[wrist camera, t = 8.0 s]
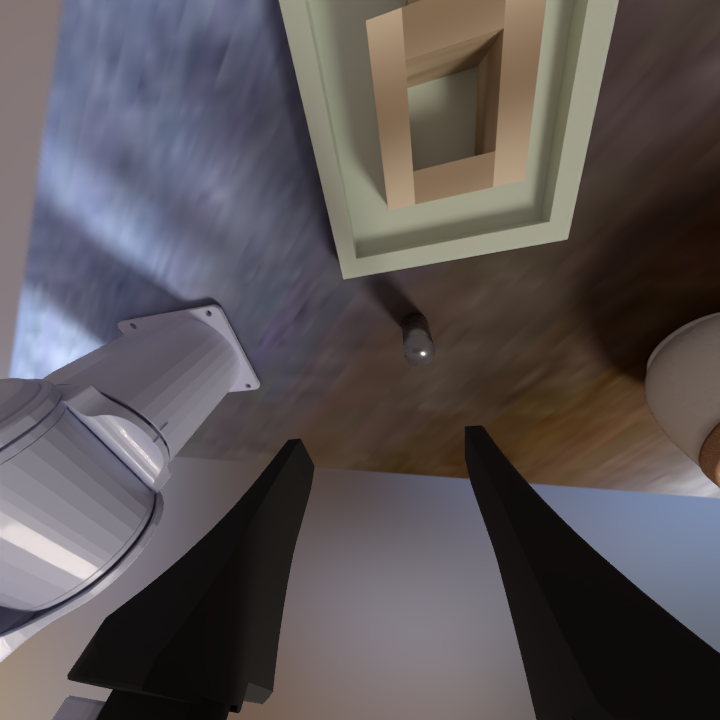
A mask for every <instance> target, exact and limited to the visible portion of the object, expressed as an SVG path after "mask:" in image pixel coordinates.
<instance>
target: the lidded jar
mask: <svg viewBox="0 0 720 720" xmlns="http://www.w3.org/2000/svg"><path fill="white" fill-rule="evenodd" d="M646 370H647V374H646V378H645V385H644V391H645V398H646V402H647V405H648V407H649V410H650V412H651V414H652V415H653V417H654V419H655V420H656V422H657V423H658V424H659V426H660V427H661V429H662V430H663V431H664V433H665V434H666V435H667V436H668V437H669V438H670V439H671V441H672V442H673V443H674V444H675V445H676V446H677V447H678V448H679V449H680V450H681V451H682V452H684V453H685V454H686V455H687V456H688V457H689V458H690V459H691V460H692V461H693V462H695V463H696V464H697V465H698V466H699V467H700V468H701V469H702V471H703V473H704V474H705V475H706V476H707V477H708V478H709V479H710V480H711V481H712V482H713V483H715V484H716V485H717V486H718V487H719V488H720V312H718V313H713V314H710V315H706V316H703V317H701V318H698V319H696V320H693V321H691V322H689V323H687V324H685V325H683V326H682V327H680V328H678V329H677V330H675V331H674V332H672V333H671V334H669V335H668V336H667V337H666V338H665V339H663V340H662V341H661V342H660V343H659V344H658V345H657V346H656V347H655V349H654V350H653V352H652V353H651V355H650V357H649V359H648V362H647V367H646Z"/></svg>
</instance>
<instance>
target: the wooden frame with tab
mask: <svg viewBox="0 0 720 720" xmlns="http://www.w3.org/2000/svg"><path fill="white" fill-rule="evenodd" d="M545 8H546V0H406V6H404V7H401V8H399V9H396V10H393V11H391V12H388V13H385V14H383V15H380V16H377V17H375V18H372V19H369V20H366V28H367V36H368V44H369V53H370V61H371V70H372V78H373V86H374V95H375V103H376V112H377V120H378V128H379V137H380V145H381V154H382V162H383V170H384V179H385V187H386V196H387V204H388V210H393V209H397V208H402V207H406V206H411V205H415V204H420V203H424V202H429V201H433V200H438V199H442V198H447V197H451V196H456V195H460V194H465V193H469V192H474V191H478V190H483V189H487V188H492V187H497V186H501V185H506V184H510V183H515V182H519V181H524V180H525V173H526V165H527V156H528V148H529V140H530V131H531V123H532V115H533V107H534V98H535V90H536V82H537V74H538V65H539V57H540V49H541V41H542V32H543V24H544V16H545ZM474 67H478V74H477V103H476V133H475V156H474V157H470V158H465V159H461V160H457V161H453V162H449V163H445V164H441V165H437V166H433V167H429V168H425V169H421V170H417V171H413V164H412V150H411V136H410V121H409V107H408V92H407V88H410V87H413V86H416V85H420V84H423V83H426V82H429V81H433V80H436V79H439V78H442V77H445V76H449V75H452V74H455V73H458V72H462V71H465V70H468V69H471V68H474Z"/></svg>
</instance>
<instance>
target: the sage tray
mask: <svg viewBox="0 0 720 720" xmlns="http://www.w3.org/2000/svg"><path fill="white" fill-rule="evenodd" d="M618 2H619V0H546V8H545V16H544V24H543V32H542V41H541V49H540V57H539V65H538V74H537V82H536V90H535V98H534V107H533V115H532V123H531V131H530V140H529V148H528V156H527V165H526V173H525V180H524V181H519V182H515V183H510V184H506V185H501V186H497V187H492V188H487V189H483V190H478V191H474V192H469V193H465V194H460V195H456V196H451V197H447V198H442V199H438V200H433V201H429V202H424V203H420V204H415V205H411V206H406V207H402V208H397V209H393V210H388V204H387V196H386V187H385V179H384V170H383V162H382V154H381V145H380V137H379V128H378V120H377V112H376V103H375V95H374V86H373V78H372V70H371V61H370V53H369V44H368V36H367V28H366V20H369V19H372V18H375V17H377V16H380V15H383V14H385V13H388V12H391V11H393V10H396V9H399V8H401V7H404V6H406V0H279V3H280V8H281V12H282V16H283V21H284V25H285V29H286V34H287V38H288V42H289V47H290V51H291V55H292V60H293V64H294V68H295V72H296V77H297V81H298V85H299V90H300V94H301V98H302V103H303V107H304V111H305V116H306V120H307V124H308V128H309V133H310V137H311V141H312V146H313V150H314V154H315V159H316V163H317V167H318V172H319V176H320V180H321V185H322V189H323V193H324V197H325V202H326V206H327V210H328V215H329V219H330V223H331V228H332V232H333V236H334V241H335V245H336V249H337V253H338V258H339V262H340V266H341V271H342V275H343V279H349V278H354V277H360V276H365V275H371V274H376V273H382V272H388V271H393V270H399V269H404V268H410V267H416V266H421V265H427V264H432V263H438V262H443V261H449V260H455V259H460V258H466V257H471V256H477V255H483V254H488V253H494V252H499V251H505V250H510V249H516V248H522V247H527V246H533V245H538V244H544V243H550V242H555V241H561V240H566V239H568V236H569V231H570V226H571V222H572V217H573V212H574V208H575V203H576V198H577V194H578V189H579V184H580V179H581V175H582V170H583V165H584V161H585V156H586V151H587V147H588V142H589V137H590V133H591V128H592V123H593V119H594V114H595V109H596V105H597V100H598V95H599V91H600V86H601V81H602V77H603V72H604V67H605V62H606V58H607V53H608V48H609V44H610V39H611V34H612V30H613V25H614V20H615V16H616V11H617V6H618ZM477 74H478V67H474V68H471V69H468V70H465V71H462V72H458V73H455V74H452V75H449V76H445V77H442V78H439V79H436V80H433V81H429V82H426V83H423V84H420V85H416V86H413V87H410V88H407V92H408V107H409V121H410V136H411V150H412V164H413V171H417V170H421V169H425V168H429V167H433V166H437V165H441V164H445V163H449V162H453V161H457V160H461V159H465V158H470V157H474V156H475V133H476V103H477Z"/></svg>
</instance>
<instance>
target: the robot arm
mask: <svg viewBox="0 0 720 720" xmlns="http://www.w3.org/2000/svg"><path fill="white" fill-rule="evenodd" d="M208 311H210V312H211V314H212V315H211V314H210V313H209V312H208ZM118 328H119V329H120V330H121V332H122V333H123V334H124V335H123V336H121V337H119V338H117V339H115V340H113V341H111V342H109V343H107V344H105V345H104V346H102V347H100V348H98V349H96V350H94V351H92V352H90V353H88V354H86V355H85V356H83V357H81V358H79V359H77V360H75V361H73V362H71V363H69V364H67V365H66V366H64V367H62V368H60V369H58V370H56V371H54V372H53V373H51V374H49V375H48V376H46V377H45V378H44V379H20V378H8V379H1V380H0V662H1V661H3V660H4V659H5V658H6V657H7V656H8V655H9V654H11V653H12V652H13V651H14V650H15V649H16V648H17V647H19V646H20V645H21V644H22V643H23V642H25V641H26V640H27V639H28V638H30V637H31V636H32V635H33V634H35V633H36V632H38V631H39V630H40V629H42V628H43V627H45V626H46V625H48V624H49V623H51V622H52V621H54V620H55V619H57V618H59V617H61V616H63V615H65V614H67V613H68V612H70V611H72V610H74V609H76V608H77V607H79V606H81V605H83V604H84V603H86V602H87V601H89V600H90V599H92V598H93V597H95V596H96V595H98V593H100V592H101V591H102V590H104V589H105V588H106V587H108V586H109V585H110V584H111V583H112V582H113V581H115V580H116V579H117V578H118V577H119V576H120V575H121V574H122V573H123V572H124V571H125V570H126V569H127V568H128V567H129V566H130V565H131V564H132V563H133V562H134V560H135V559H136V558H137V557H138V556H139V555H140V553H141V552H142V551H143V549H144V548H145V547H146V545H147V544H148V542H149V541H150V539H151V538H152V536H153V534H154V533H155V530H156V529H157V527H158V524H159V522H160V520H161V517H162V512H163V505H164V502H163V497H162V495H161V493H160V489H161V488H162V487H163V486H164V484H165V483H166V482H167V480H168V479H169V478H170V477H171V475H172V474H171V473H170V471H169V470H168V467H167V465H168V464H169V462H170V461H171V460H172V459H173V458H174V457H175V455H176V454H177V453H178V452H179V450H180V449H181V448H182V447H183V446H184V444H185V443H186V442H187V441H188V440H189V438H190V437H191V436H192V435H193V434H194V432H195V431H196V430H197V429H198V427H199V426H200V425H201V424H202V423H203V421H204V420H205V419H206V418H207V417H208V415H209V414H210V413H211V412H212V411H213V409H214V408H215V407H216V406H217V404H218V403H219V402H220V401H221V400H222V398H223V397H224V396H225V395H226V394H227V392H234V391H244V390H254V389H258V388H259V386H260V382H259V380H258V378H257V376H256V374H255V372H254V370H253V368H252V366H251V364H250V363H249V361H248V359H247V357H246V355H245V353H244V351H243V349H242V347H241V345H240V343H239V341H238V339H237V337H236V335H235V333H234V331H233V330H232V328H231V326H230V324H229V322H228V320H227V318H226V316H225V314H224V312H223V310H222V309H221V307H219V306H218V305H215V304H213V305H207V306H202V307H196V308H190V309H185V310H179V311H174V312H168V313H162V314H157V315H151V316H145V317H140V318H134V319H129V320H123V321H121V322H119V323H118ZM248 384H250V385H248ZM465 460H466V464H467V469H468V473H469V477H470V481H471V485H472V488H473V491H474V494H475V496H476V499H477V502H478V505H479V508H480V511H481V514H482V517H483V519H484V522H485V525H486V528H487V531H488V534H489V536H490V540H491V542H492V545H493V548H494V552H495V555H496V558H497V561H498V565H499V569H500V573H501V577H502V581H503V584H504V588H505V592H506V596H507V599H508V604H509V608H510V612H511V616H512V619H513V623H514V627H515V631H516V635H517V639H518V644H519V648H520V651H521V655H522V660H523V664H524V668H525V672H526V676H527V681H528V685H529V689H530V694H531V698H532V702H533V706H534V711H535V715H536V719H537V720H720V653H719V652H717V651H716V650H715V649H713V648H712V647H711V646H710V645H708V644H707V643H706V642H704V641H703V640H702V639H700V638H699V637H698V636H697V635H696V634H694V633H693V632H692V631H691V630H689V629H688V628H687V627H686V626H684V625H683V624H682V623H680V622H679V621H678V620H677V619H675V618H674V617H673V616H672V615H670V614H669V613H668V612H667V611H666V610H664V609H663V608H662V607H661V606H660V605H658V604H657V603H656V602H655V601H654V600H652V599H651V598H650V597H649V596H647V595H646V594H645V593H643V592H642V591H641V590H640V589H639V588H638V587H637V586H636V585H634V584H633V583H632V582H631V581H630V580H628V579H627V578H626V577H625V576H624V575H623V574H622V573H620V572H619V571H618V570H617V569H616V568H615V567H614V566H613V565H611V564H610V563H609V562H608V561H607V560H605V559H604V558H603V557H602V556H601V555H600V554H599V553H598V552H596V551H595V550H594V549H593V548H592V547H591V546H590V545H589V544H588V543H587V542H586V541H585V540H583V539H582V538H581V537H580V536H579V535H578V534H577V533H576V532H575V531H574V530H573V529H572V528H571V527H570V526H569V525H567V523H565V521H564V520H562V518H560V517H559V516H558V515H557V514H556V512H555V511H554V510H552V508H551V507H550V506H549V505H548V504H547V503H546V502H545V501H544V500H543V499H542V498H541V497H540V496H539V495H538V494H537V493H536V492H535V490H534V489H533V488H532V487H531V486H530V485H529V484H528V483H527V482H526V480H525V479H524V478H523V477H522V476H521V475H520V474H519V472H518V471H517V470H516V469H515V468H514V466H513V465H512V464H511V463H510V462H509V461H508V459H507V458H506V457H505V456H504V454H503V453H502V452H501V450H500V449H499V448H498V447H497V445H496V444H495V443H494V441H493V440H492V438H491V437H490V436H489V434H488V433H487V431H486V430H485V428H484V427H483V426H481V425H480V426H467V427H465ZM313 473H314V464H313V462H312V460H311V458H310V456H309V454H308V452H307V450H306V448H305V446H304V444H303V443H302V441H301V439H291V440H288V441H287V442H286V443H285V445H284V446H283V447H282V449H281V450H280V451H279V452H278V454H277V455H276V456H275V457H274V459H273V460H272V461H271V463H270V464H269V465H268V466H267V468H266V469H265V470H264V471H263V473H262V474H261V475H260V476H259V478H258V479H257V480H256V481H255V482H254V484H253V485H252V486H251V487H250V488H249V490H248V491H247V492H246V493H245V494H244V495H243V497H242V498H241V499H240V500H239V501H238V502H237V503H236V505H235V506H234V507H233V508H232V509H231V510H230V511H229V512H228V513H227V514H226V515H225V516H224V517H223V519H221V520H220V521H219V522H218V524H217V525H216V526H215V527H214V528H213V529H212V530H211V531H210V532H209V533H207V535H205V536H204V537H203V538H202V539H201V540H200V541H199V542H198V543H197V544H196V545H195V546H193V547H192V548H191V549H190V550H189V551H188V552H187V553H186V554H185V555H184V556H183V557H181V558H180V559H179V560H178V561H177V562H176V563H175V564H174V565H172V566H171V567H170V568H169V569H168V570H166V571H165V572H164V573H163V574H162V575H160V576H159V577H158V578H157V579H156V580H154V581H153V582H152V583H151V584H149V585H148V586H147V587H146V588H144V589H143V590H142V591H141V592H139V593H138V594H137V595H135V596H134V597H133V598H131V599H130V600H129V601H127V602H126V603H125V604H123V605H122V606H121V607H120V608H118V609H117V610H116V611H114V612H113V613H112V614H110V615H109V616H108V617H106V618H105V620H104V621H103V623H102V624H101V626H100V627H99V629H98V630H97V632H96V633H95V635H94V636H93V638H92V639H91V641H90V642H89V644H88V645H87V647H86V648H85V650H84V651H83V653H82V654H81V656H80V658H79V659H78V660H77V662H76V663H75V665H74V666H73V668H72V669H71V671H70V672H69V674H68V679H69V680H72V681H76V682H80V683H85V684H90V685H94V686H99V687H104V688H109V689H113V690H112V692H111V694H110V696H109V697H108V699H107V701H106V702H103V701H98V700H92V699H87V698H81V697H75V696H69V697H67V698H66V699H65V700H64V702H63V704H62V705H61V707H60V708H59V710H58V711H57V713H56V714H55V716H54V717H53V719H52V720H226V719H227V716H228V713H229V712H235V713H239V712H240V710H241V707H242V704H243V701H247V702H254V703H260V704H263V703H264V702H265V701H266V700H267V699H268V698H269V697H270V695H271V694H272V692H273V685H274V675H275V668H276V658H277V651H278V642H279V634H280V628H281V621H282V614H283V607H284V602H285V596H286V590H287V583H288V579H289V573H290V568H291V563H292V558H293V553H294V549H295V545H296V541H297V537H298V534H299V530H300V527H301V523H302V519H303V516H304V512H305V509H306V505H307V502H308V498H309V494H310V490H311V485H312V479H313Z"/></svg>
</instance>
